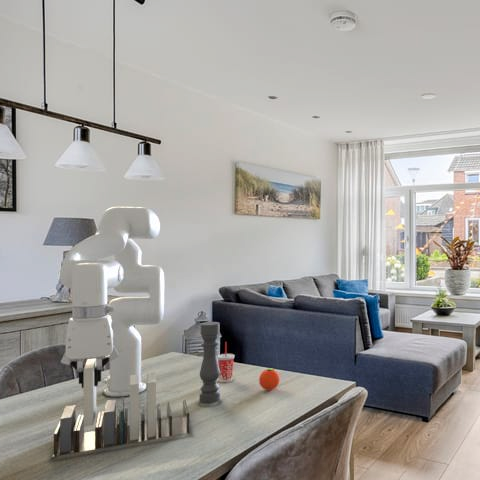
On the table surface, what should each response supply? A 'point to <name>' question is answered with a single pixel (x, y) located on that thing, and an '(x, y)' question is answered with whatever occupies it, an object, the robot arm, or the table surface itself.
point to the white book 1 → (89, 392)
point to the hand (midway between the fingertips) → (90, 384)
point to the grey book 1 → (67, 428)
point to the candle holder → (209, 364)
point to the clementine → (269, 379)
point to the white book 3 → (151, 405)
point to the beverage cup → (225, 366)
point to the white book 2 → (134, 407)
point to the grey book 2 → (109, 422)
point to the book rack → (122, 430)
